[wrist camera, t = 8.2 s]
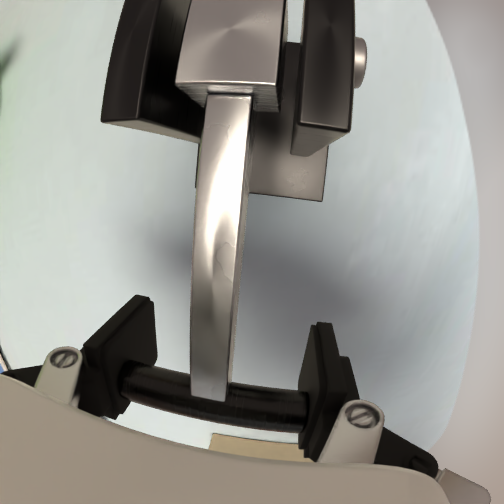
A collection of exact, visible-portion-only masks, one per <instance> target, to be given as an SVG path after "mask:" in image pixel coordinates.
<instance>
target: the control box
mask: <svg viewBox="0 0 504 504" xmlns="http://www.w3.org/2000/svg"><path fill="white" fill-rule="evenodd" d="M208 450H213V451H218V452H223V453H229V454H235V455H241V456H248V457H256V458H264V459H273V460H285V461H298V462H313V461H312V460H311V459H310V458H304V451H303V450H300V449H299V448H298V444H287V443H276V442H266V441H258V440H250V439H243V438H237V437H231V436H225V435H220V434H214V433H213V435H212V439H211V442H210V445H209V449H208Z"/></svg>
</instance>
